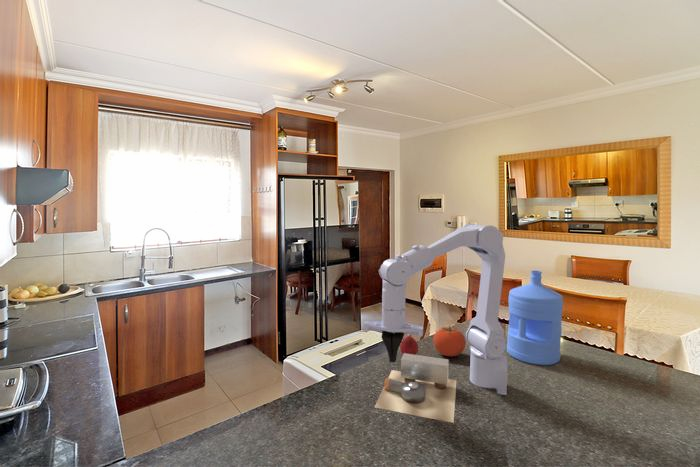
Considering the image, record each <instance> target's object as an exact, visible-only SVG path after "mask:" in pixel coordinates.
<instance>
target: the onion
mask: <svg viewBox="0 0 700 467" xmlns="http://www.w3.org/2000/svg"><path fill="white" fill-rule="evenodd" d="M399 350H400V352H401V354H402V355H403V354H404V353H406V354H413V355H418V354H417V353H418V352H419V345H418V342H417V340H416V339H415V338H414V337H412V335H410V334H407V336H406V337H403V339H402V342H401V344H400V346H399Z"/></svg>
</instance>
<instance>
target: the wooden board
mask: <svg viewBox="0 0 700 467" xmlns="http://www.w3.org/2000/svg"><path fill="white" fill-rule="evenodd" d="M387 378H391V379H393V380H396V381H400V382H403V383H405V382H409V381H413V382H418V383H421V384H423V385H424V386H425V388H426V393H425V400H424V401H423V402H421V403H409V402H406V401H404V400H403V399H402V398H401V394H398V393H395V392H392V391H388V390H385V389H384V387H383V388H382V390H381V392H380V394H379V396H378V399H377V400H376V403H375V405H374V408H376V409H379V410H386V411H389V412H395V413H401V414H406V415H412V416H416V417H422V418H426V419H432V420H437V421H441V422H446V423H452V424H454V422H455V409H456V406H455V405H456V396H457V395H456V393H457V379H451V378H448V383H447V385H445V384H439V383H433V382H427V381H421V380H415V379H409V378H403V377H401V370H396V369H395V370H393V369H391V371H390V374H389V375H388V377H387Z"/></svg>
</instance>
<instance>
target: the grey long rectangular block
mask: <svg viewBox="0 0 700 467" xmlns="http://www.w3.org/2000/svg"><path fill="white" fill-rule="evenodd" d="M449 364H450V363H449V359H448V358H447V359H446V358H442V357H441V358H439V357H433V356H427V355H419V354H416V355H413V354H406V353H404V354H402V356H401V358H400V371H401V377H403V378H409V379H415V380H421V381H427V382H433V383H439V384H445V385H447V383H448V379H449Z"/></svg>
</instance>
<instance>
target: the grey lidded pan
mask: <svg viewBox="0 0 700 467" xmlns="http://www.w3.org/2000/svg"><path fill="white" fill-rule="evenodd" d="M383 384H384V386H383V388H384V389H385V390H388V391H392V392H395V393H398V394H401V398H402V399H403V400H404V401H406V402H409V403H421V402H423V401H424V400H425V393H426V388H425V386H424V385H423V384H421V383H418V382H413V381H409V382H405V383H403V382H400V381H396V380H393V379H391V378H388V377H386V378H385V379H384V382H383Z"/></svg>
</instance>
